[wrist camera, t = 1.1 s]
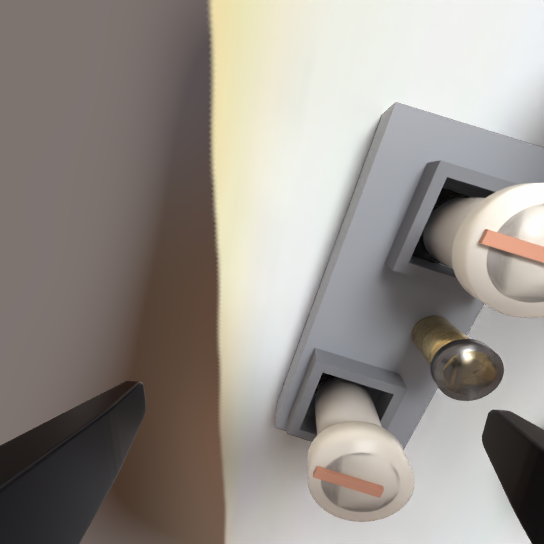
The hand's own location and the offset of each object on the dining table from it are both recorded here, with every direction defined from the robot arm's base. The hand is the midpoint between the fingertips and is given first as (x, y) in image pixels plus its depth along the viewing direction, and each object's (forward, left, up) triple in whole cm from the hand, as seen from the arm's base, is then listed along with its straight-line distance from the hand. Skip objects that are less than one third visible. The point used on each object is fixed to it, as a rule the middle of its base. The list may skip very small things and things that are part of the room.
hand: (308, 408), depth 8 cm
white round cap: (-7, -6, -10) cm, 13 cm away
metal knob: (-8, 0, -10) cm, 13 cm away
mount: (-6, 0, -13) cm, 14 cm away
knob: (-5, +6, -10) cm, 13 cm away
